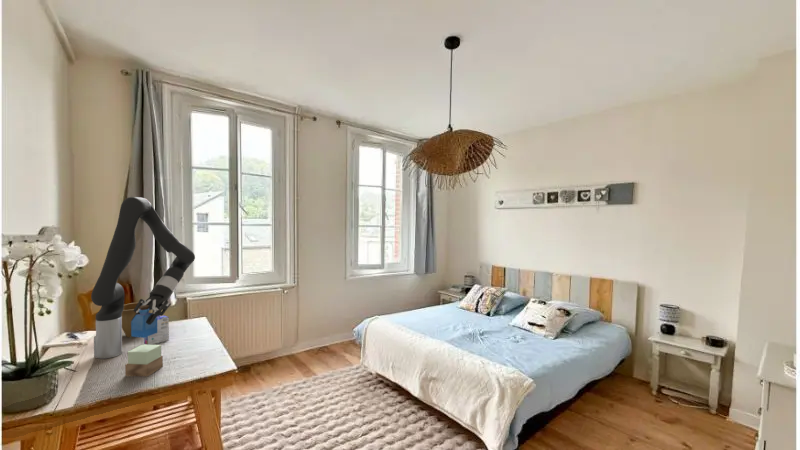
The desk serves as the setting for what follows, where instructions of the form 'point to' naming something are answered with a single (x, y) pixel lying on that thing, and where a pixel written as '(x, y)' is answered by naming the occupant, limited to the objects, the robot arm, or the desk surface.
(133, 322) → the perfume bottle
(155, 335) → the ink cartridge box
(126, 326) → the plant pot
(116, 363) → the desk surface
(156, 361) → the tower base block
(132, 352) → the tower top block
